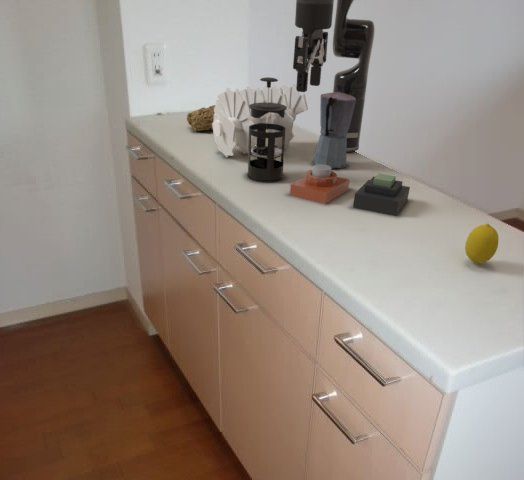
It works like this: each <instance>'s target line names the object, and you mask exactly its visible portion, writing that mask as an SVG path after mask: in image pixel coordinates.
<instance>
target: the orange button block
mask: <svg viewBox="0 0 524 480" xmlns="http://www.w3.org/2000/svg"><path fill="white" fill-rule="evenodd" d="M349 185H350V179H349V178H345V177H341V176H338V175H337V173H336V172H334V171H333V170H331V176H330V177H326V178H321V177H315V176H313V175H312V169H309V170H307V171H306V172H305V176H304V177H302V178H300V179H298V180H296V181H294V182H292V183H290V190H289V195H290V196H292V197H297V198H300V199H303V200H304V199H305V200H308V201H310V202H311V201H312V202H316V203H319V204H324V205H326V204H328V203H330V202H332V201H333V200H334V199H336V198H338V197H339V196H341V195H343V194H345V193H346V192H348V191H349Z"/></svg>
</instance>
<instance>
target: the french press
mask: <svg viewBox="0 0 524 480" xmlns="http://www.w3.org/2000/svg"><path fill="white" fill-rule="evenodd" d="M259 81H261V82H266V87H267V88H268V101H267V103H254V104H250V105H249V108H250V109H251V116H252V117H254V118H260V117H262V116H263V115H265V114H267V123H257V124H253V125H250V126H249V145H248V153H247V174H246V178H247V179H248V180H250V181H252V182H255V183H256V182H257V183H264V184H270V183H272V184H273V183H278V182H281V181H282V180H284V178H285V177H284V160H285V148H284V146H285V127H283V126H281V125H277V124H268V113H269V112H271V113H278V114H279V115H280V116H281V117H282V118H284V113H285V110H286V109H287V107H286V106H285V105H282V104H278V103H269V88H271V89H272V87H271V86H272V83H274V82H275V83H276V82H279V79H278V78H275V77H268V76H267V77H262V78H260V79H259ZM268 129H273V130H278V131H280V132H268ZM255 130H257V131H255ZM251 135H252V136H255V137H257V146H256V147H253V148H252V149H251ZM279 137H282V150H281V149H280V148H279V147H276V144H275V138H279ZM267 139H268V146H267ZM265 142H266V146H265ZM251 156H253V157H255V159H251ZM276 158H277V159H278V158H280V160H277V159H276Z"/></svg>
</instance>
